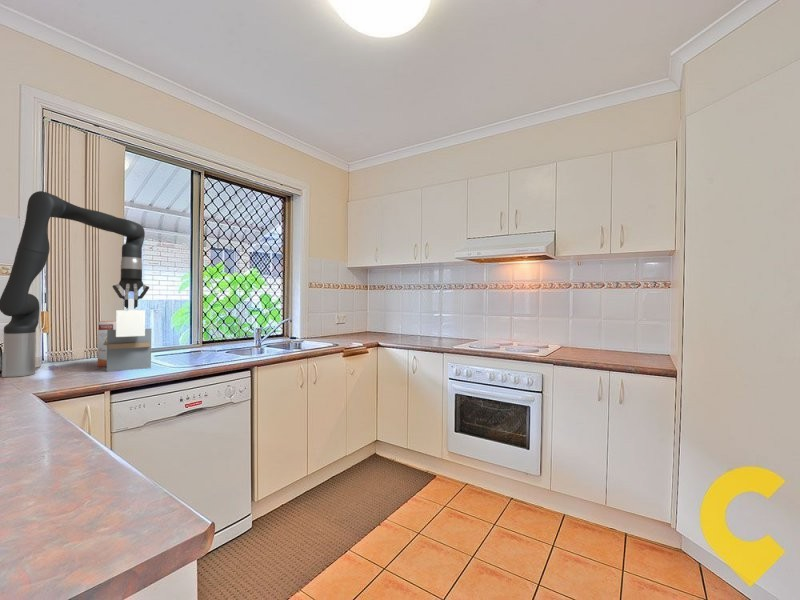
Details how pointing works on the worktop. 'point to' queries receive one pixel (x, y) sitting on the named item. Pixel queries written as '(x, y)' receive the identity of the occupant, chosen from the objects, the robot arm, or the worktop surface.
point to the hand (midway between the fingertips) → (130, 308)
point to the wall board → (128, 351)
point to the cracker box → (104, 341)
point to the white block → (130, 321)
